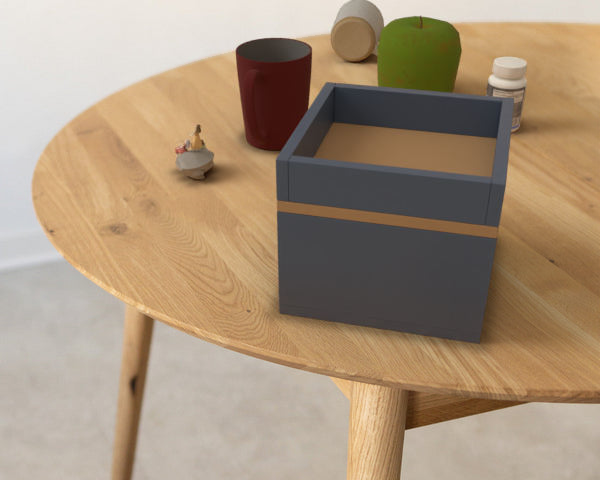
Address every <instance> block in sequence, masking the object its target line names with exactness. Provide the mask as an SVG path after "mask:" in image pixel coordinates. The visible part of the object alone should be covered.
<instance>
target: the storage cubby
mask: <svg viewBox="0 0 600 480" xmlns="http://www.w3.org/2000/svg"><path fill="white" fill-rule="evenodd" d="M513 107H514V98H506V97H503V98H502V97H493V96H486V95H481V94H468V93H460V92H459V93H458V92H450V93H448V92H436V91H425V90H413V89H402V88H390V87H379V86H378V85H376V86H375V85H366V84H357V83H356V84H355V83H345V82H344V83H343V82H342V83H341V82H332V81H331V82H330V81H326V82H325V83H324V85H323V86H322V87H321V89H320V91H319V92H318V94H317V96H315V98H314V100H313V101H312V103H311V104H310V105H309V107H308V111H307V112H306V114H305V115H304V117H303V118H302V120H301V121H300V123H299V125H298V126H297V128H296V129H295V131H294V132H293V134H292V135H291V137H290V138H289V140H288V141H287V143H286V144H285V146H284V148H283V149H282V150H280V152H279V153H278V155H277V157H276V158H275V187H276V188H275V191H276V192H275V193H276V235H277V276H278V278H277V279H278V280H277V281H278V314H280V315H285V316H293V317H299V318H306V319H314V320H320V321H326V322H333V323H338V324H339V323H340V324H345V325H346V324H347V325H353V326H359V327H365V328H373V329H377V330H384V331H385V330H386V331H392V332H398V333H404V334H411V335H416V336H417V335H418V336H425V337H431V338H439V339H444V340H451V341H457V342H464V343H471V344H477V345H480V343H481V338H482V331H483V325H484V319H485V313H486V308H487V307H486V306H487V301H488V295H489V288H490V283H491V277H492V271H493V266H494V258H495V253H496V247H497V242H498V235H499V229H500V223H501V218H502V210H503V206H504V205H503V204H504V199H505V194H506V187H507V179H508V169H509V168H508V167H509V160H510V159H509V157H510V147H511V137H512V132H511V128H512V117H513Z"/></svg>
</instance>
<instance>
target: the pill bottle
mask: <svg viewBox="0 0 600 480" xmlns="http://www.w3.org/2000/svg"><path fill="white" fill-rule="evenodd" d="M527 68H528V62H527V61H526V60H525V59H523V58H520V57H516V56H507V55H506V56H499V57H496V58H494V60H493V63H492V67H491V70H492V71H491V73H492V74H490V75H489V77H488V78H487V83H486V92H485V93H486V94H485V96H493V97H502V98H503V97H506V98H514V107H513V117H512V128H511V133H515V132H517V130H519V129H520V127H521V122H522V116H523V110H524V105H525V99H526V92H527V86H528V80H527V78H526V74H527Z"/></svg>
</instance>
